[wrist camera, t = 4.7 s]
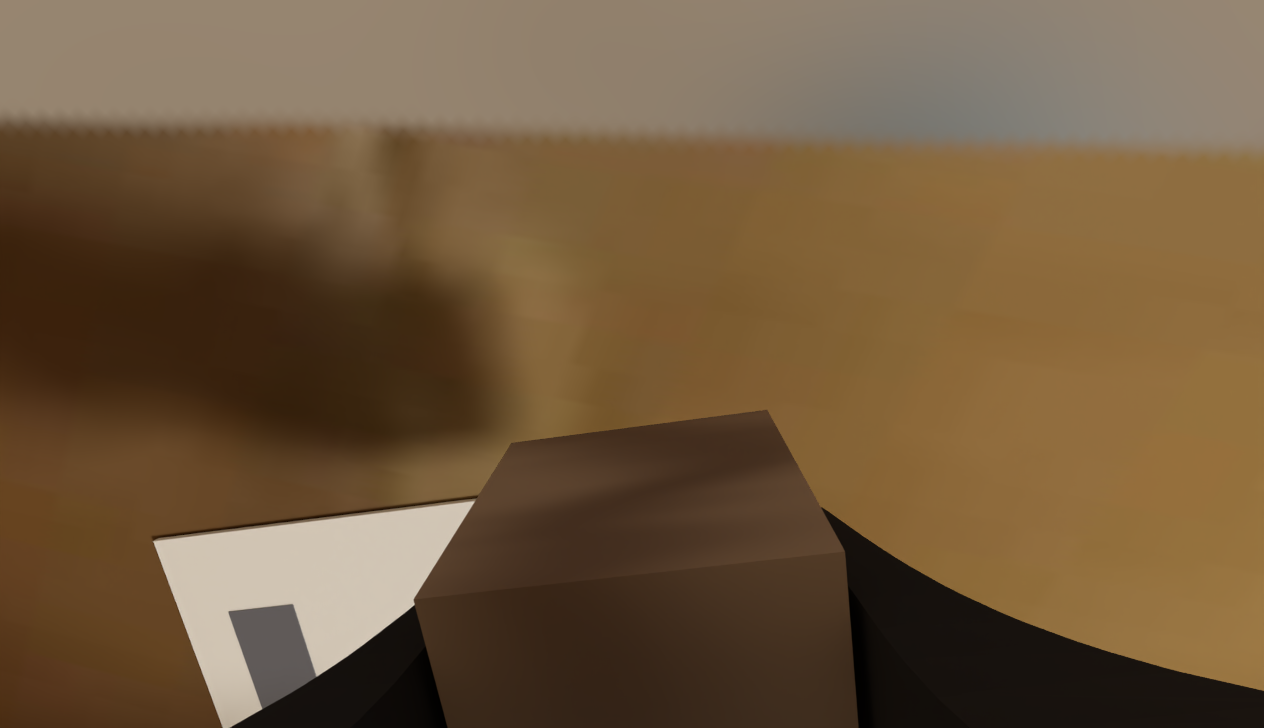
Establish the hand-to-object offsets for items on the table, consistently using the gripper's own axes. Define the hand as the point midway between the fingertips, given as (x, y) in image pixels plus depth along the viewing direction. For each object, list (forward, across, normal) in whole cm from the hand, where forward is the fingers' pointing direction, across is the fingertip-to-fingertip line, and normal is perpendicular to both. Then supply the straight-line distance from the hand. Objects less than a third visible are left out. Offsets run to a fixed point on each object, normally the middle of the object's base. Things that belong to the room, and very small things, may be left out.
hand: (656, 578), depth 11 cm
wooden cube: (+1, 0, 0) cm, 1 cm away
